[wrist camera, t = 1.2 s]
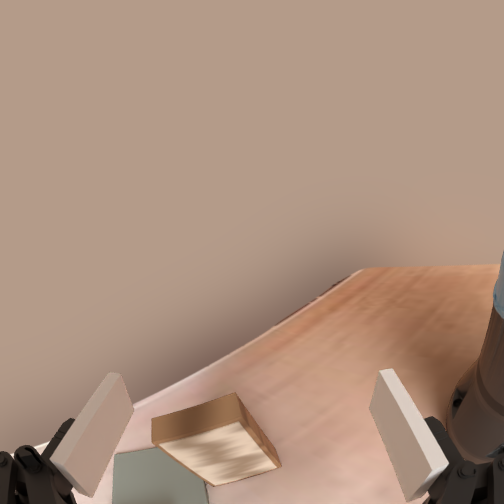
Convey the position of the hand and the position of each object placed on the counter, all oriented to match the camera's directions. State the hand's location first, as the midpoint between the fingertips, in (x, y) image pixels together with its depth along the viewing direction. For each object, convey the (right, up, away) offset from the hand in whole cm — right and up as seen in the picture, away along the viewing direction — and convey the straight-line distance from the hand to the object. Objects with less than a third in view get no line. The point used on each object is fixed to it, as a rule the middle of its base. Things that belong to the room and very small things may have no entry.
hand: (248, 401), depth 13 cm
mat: (-12, -25, +11) cm, 30 cm away
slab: (-1, -19, +15) cm, 24 cm away
